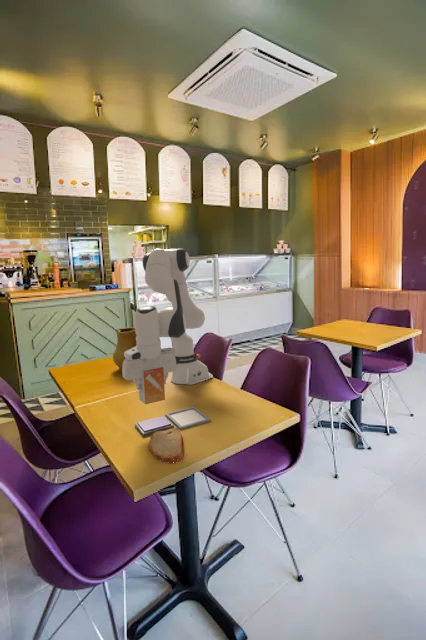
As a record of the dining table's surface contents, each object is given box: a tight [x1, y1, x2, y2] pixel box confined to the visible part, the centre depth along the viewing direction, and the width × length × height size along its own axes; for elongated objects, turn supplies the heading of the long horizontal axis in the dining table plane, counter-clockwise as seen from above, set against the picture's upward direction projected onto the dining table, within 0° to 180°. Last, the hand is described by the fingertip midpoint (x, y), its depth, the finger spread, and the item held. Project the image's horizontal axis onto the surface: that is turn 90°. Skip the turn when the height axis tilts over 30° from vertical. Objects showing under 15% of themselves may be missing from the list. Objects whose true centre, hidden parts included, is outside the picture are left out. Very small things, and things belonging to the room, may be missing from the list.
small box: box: [137, 366, 166, 405], centre depth 133 cm, size 8×6×13 cm
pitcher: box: [112, 326, 137, 373], centre depth 210 cm, size 17×19×25 cm
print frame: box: [164, 406, 212, 431], centre depth 142 cm, size 13×15×1 cm
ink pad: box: [134, 415, 175, 437], centre depth 135 cm, size 12×10×2 cm
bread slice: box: [148, 427, 185, 464], centre depth 121 cm, size 18×18×4 cm
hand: (151, 386), depth 133 cm, fingers closed on small box, 8 cm apart
